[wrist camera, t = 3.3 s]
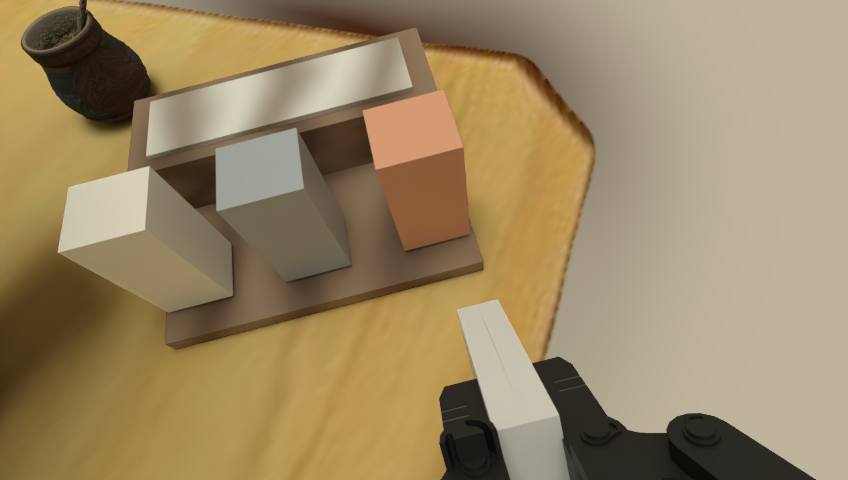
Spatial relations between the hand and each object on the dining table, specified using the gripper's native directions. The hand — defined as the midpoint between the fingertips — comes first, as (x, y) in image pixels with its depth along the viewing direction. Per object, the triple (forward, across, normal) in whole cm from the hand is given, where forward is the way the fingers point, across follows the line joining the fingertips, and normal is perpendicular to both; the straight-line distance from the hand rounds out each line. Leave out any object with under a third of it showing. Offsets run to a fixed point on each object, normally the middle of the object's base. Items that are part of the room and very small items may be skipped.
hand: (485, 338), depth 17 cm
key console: (+20, -9, +3) cm, 22 cm away
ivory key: (+16, -17, +1) cm, 23 cm away
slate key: (+16, -9, +1) cm, 18 cm away
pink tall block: (+16, -1, +1) cm, 16 cm away
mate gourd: (+32, -25, +15) cm, 43 cm away
